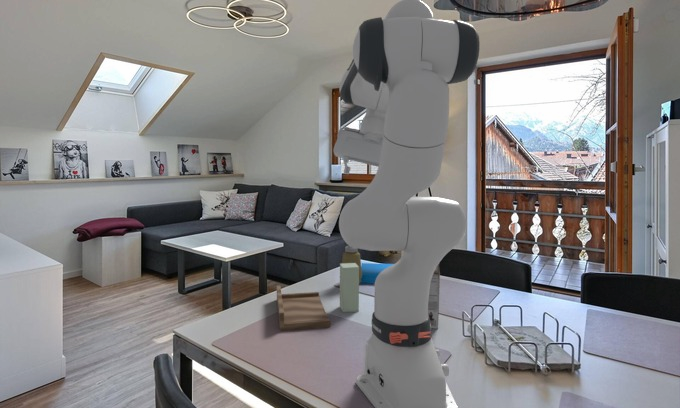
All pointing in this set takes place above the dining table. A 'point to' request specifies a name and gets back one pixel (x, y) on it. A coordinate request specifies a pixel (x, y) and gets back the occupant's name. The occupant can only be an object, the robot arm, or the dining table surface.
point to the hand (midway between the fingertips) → (362, 177)
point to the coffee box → (434, 298)
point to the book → (372, 271)
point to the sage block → (349, 287)
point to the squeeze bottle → (352, 258)
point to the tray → (300, 311)
